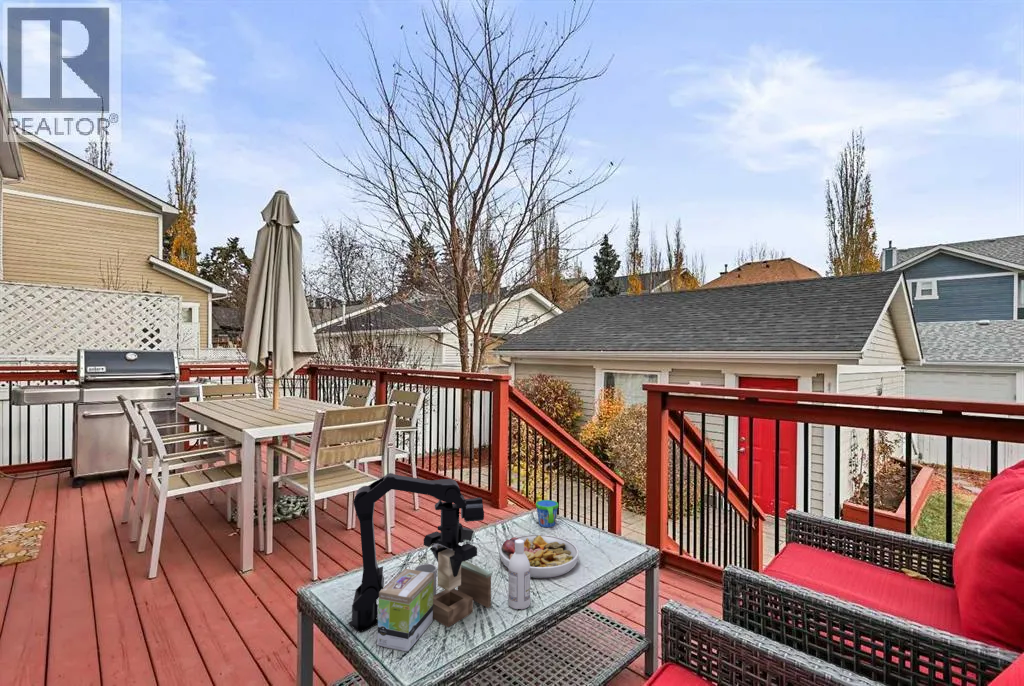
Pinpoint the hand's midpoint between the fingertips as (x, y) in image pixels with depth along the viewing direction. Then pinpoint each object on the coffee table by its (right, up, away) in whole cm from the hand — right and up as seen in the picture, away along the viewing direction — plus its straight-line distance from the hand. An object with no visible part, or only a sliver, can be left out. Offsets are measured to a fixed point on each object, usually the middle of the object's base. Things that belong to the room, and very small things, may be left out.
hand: (449, 573), depth 141 cm
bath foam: (+22, -13, +5) cm, 25 cm away
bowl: (+30, -14, +35) cm, 48 cm away
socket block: (+2, -12, +2) cm, 12 cm away
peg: (0, -4, 0) cm, 4 cm away
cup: (-10, -13, +11) cm, 20 cm away
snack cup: (+36, -14, +73) cm, 83 cm away
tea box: (-11, -12, -10) cm, 19 cm away
